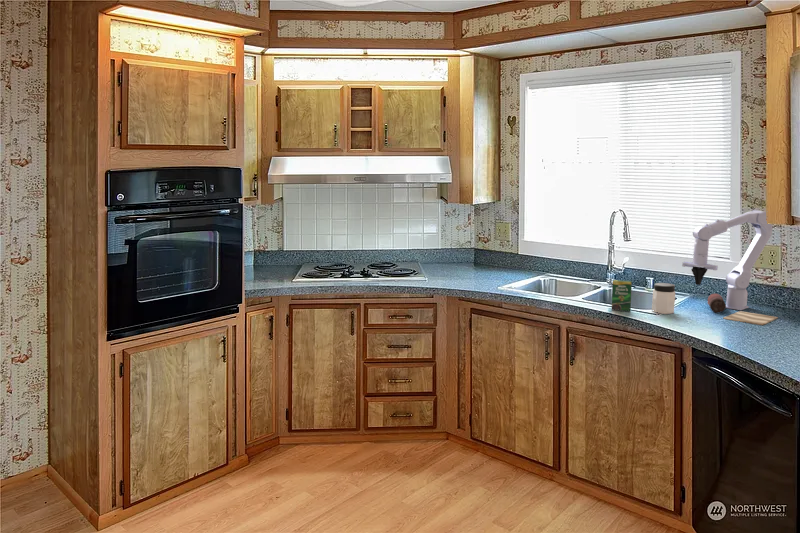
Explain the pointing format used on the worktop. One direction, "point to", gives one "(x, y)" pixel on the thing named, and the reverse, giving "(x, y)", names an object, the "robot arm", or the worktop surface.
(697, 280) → the robot arm
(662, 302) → the jar
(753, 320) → the wooden cutting board
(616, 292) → the green cardboard box
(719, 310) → the can
